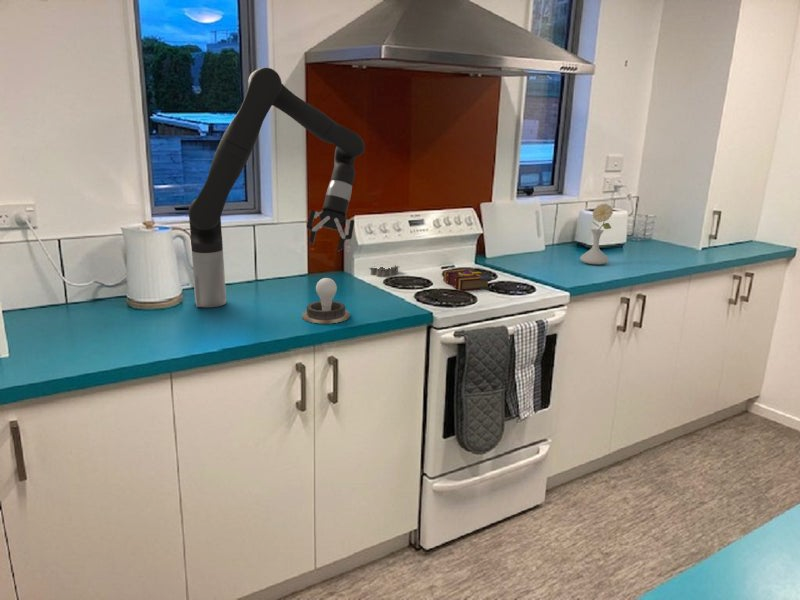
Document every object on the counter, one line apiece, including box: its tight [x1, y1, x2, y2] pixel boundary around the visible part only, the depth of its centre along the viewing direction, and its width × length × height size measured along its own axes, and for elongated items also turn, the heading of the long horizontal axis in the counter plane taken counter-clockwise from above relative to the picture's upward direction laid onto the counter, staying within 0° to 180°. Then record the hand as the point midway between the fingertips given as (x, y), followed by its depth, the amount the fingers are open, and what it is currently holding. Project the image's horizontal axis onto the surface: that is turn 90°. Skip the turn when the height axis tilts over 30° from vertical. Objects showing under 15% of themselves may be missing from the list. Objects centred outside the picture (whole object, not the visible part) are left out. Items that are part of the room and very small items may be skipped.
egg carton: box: [369, 265, 400, 278], centre depth 241 cm, size 11×8×4 cm
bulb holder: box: [302, 300, 351, 325], centre depth 190 cm, size 14×14×3 cm
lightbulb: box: [315, 277, 338, 311], centre depth 189 cm, size 6×6×11 cm
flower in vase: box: [579, 203, 614, 265], centre depth 259 cm, size 13×11×25 cm
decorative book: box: [442, 267, 491, 292], centre depth 228 cm, size 11×16×5 cm
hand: (325, 247), depth 200 cm, fingers open, 8 cm apart
